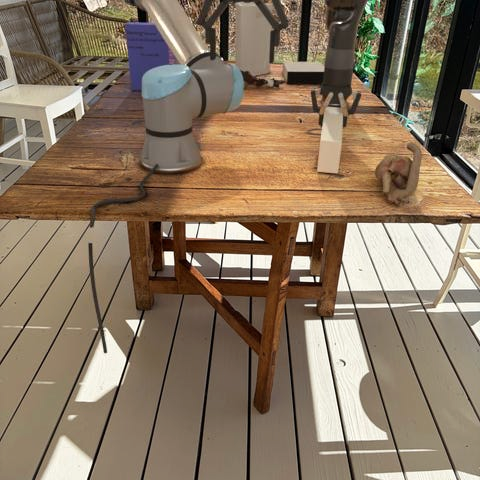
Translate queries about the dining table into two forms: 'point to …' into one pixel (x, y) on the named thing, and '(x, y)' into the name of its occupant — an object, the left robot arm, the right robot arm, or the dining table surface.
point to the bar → (330, 140)
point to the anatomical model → (399, 174)
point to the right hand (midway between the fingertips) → (331, 127)
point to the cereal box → (145, 51)
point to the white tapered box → (252, 39)
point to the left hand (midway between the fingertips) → (242, 60)
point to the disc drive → (303, 72)
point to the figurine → (259, 80)
